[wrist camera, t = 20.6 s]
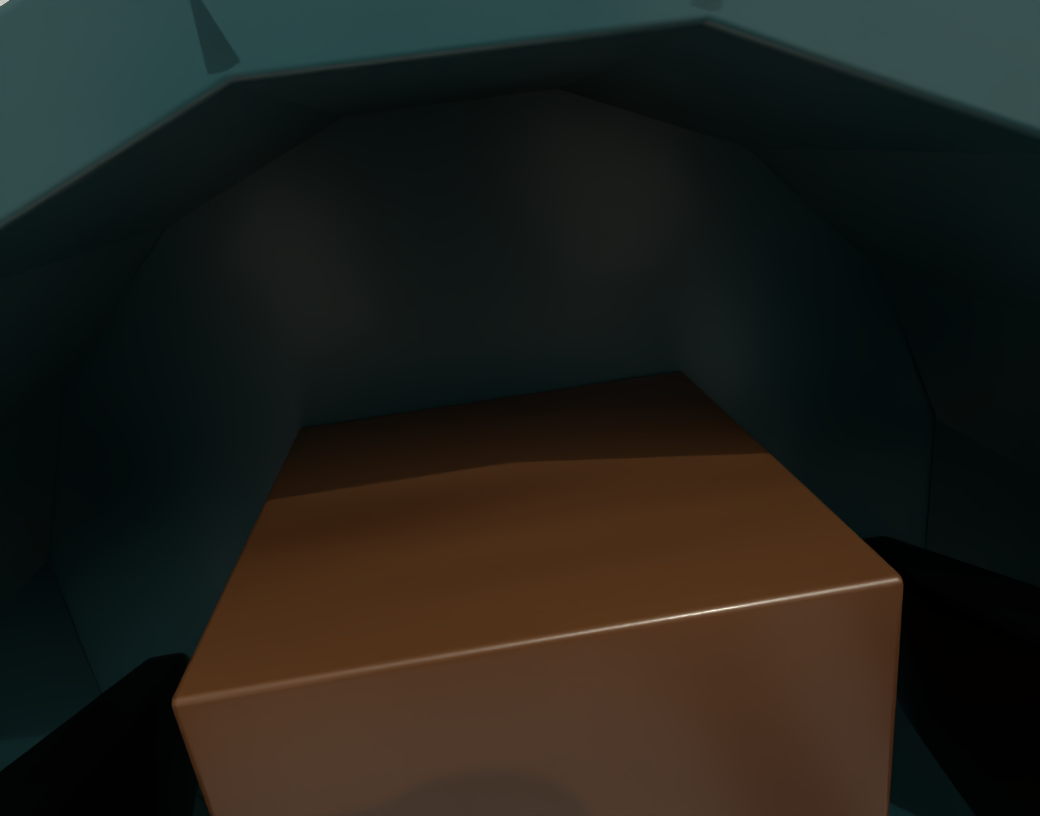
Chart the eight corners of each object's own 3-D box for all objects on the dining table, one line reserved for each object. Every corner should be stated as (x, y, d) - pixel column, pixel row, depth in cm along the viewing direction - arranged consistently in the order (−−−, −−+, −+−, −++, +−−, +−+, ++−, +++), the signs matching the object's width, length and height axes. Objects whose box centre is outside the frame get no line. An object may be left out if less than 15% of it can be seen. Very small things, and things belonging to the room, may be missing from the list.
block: (698, 678, 12) (877, 1045, 7) (372, 735, 11) (327, 1158, 7) (682, 369, 10) (908, 576, 5) (298, 426, 10) (164, 703, 5)
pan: (1073, 785, 14) (1444, 1159, 9) (8, 987, 13) (-274, 1549, 8) (1220, -68, 9) (2203, -331, 4) (-446, 137, 8) (-1951, 130, 3)
